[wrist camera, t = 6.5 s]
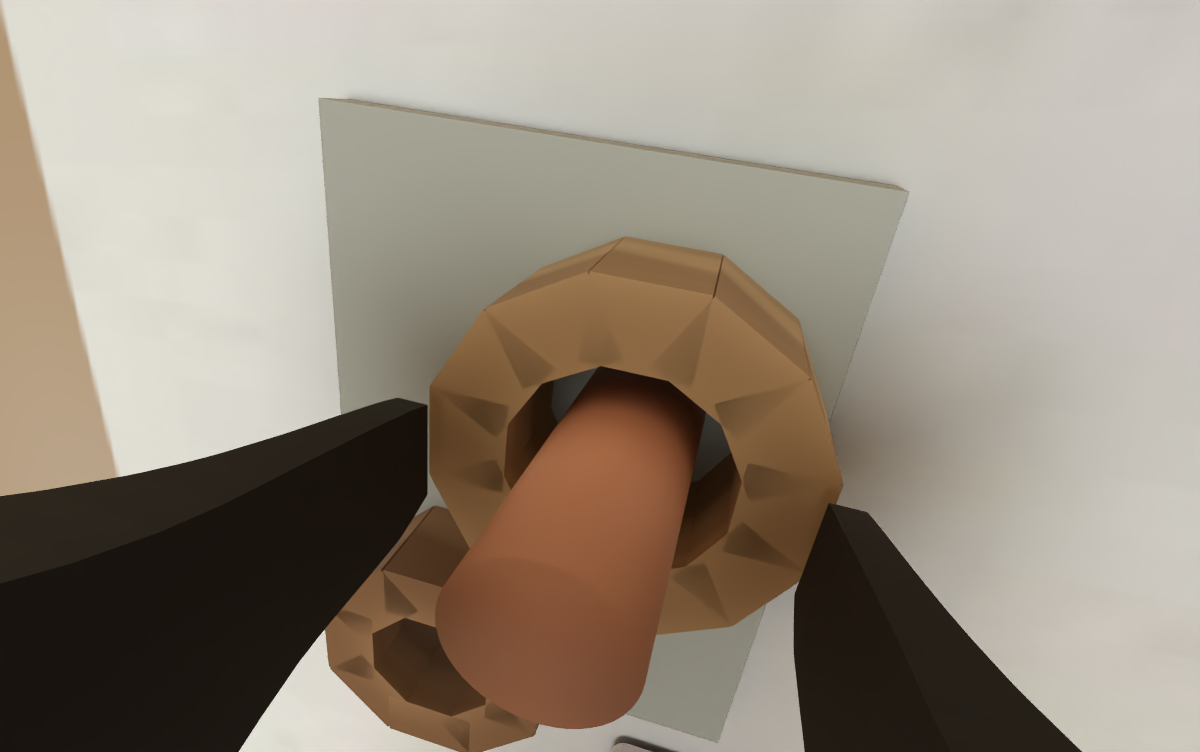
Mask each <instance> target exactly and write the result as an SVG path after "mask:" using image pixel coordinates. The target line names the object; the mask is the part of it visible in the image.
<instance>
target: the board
mask: <svg viewBox="0 0 1200 752" xmlns="http://www.w3.org/2000/svg"><path fill="white" fill-rule="evenodd" d="M318 99H319V113H320V127H321V141H322V155H323V169H324V182H325V196H326V210H327V224H328V238H329V252H330V265H331V279H332V293H333V307H334V321H335V335H336V348H337V362H338V376H339V390H340V404H341V415H342V414H345V413H348V412H351V411H354V410H357V409H360V408H363V407H366V406H369V405H372V404H375V403H379V402H382V401H386V400H390V399H394V398H402V399H406V400H410V401H414V402H418V403H422V404H426V405H428V495H427V496H426V498H425V500H424V501H423V503H422V505H421V506H420V508H419V510H418V511H417V513H416V515H415V516H417V515H419V514H420V513H422V512H424V511H425V510H427V509H429V508H431V507H432V506H434V507H435V506H439V507H443V508H447V506H446V504H445V502H444V500H443V498H442V497H441V495H440V493H439V491H438V489H437V488H436V486H435V484H434V482H433V480H432V478H431V477H430V474H429V387H430V385H431V383H432V382H433V380H434V379H435V377H436V376H437V375H438V373H439V372H440V370H441V369H442V367H443V366H444V365H445V363H446V362H447V360H448V359H449V357H450V356H451V355H452V353H453V352H454V350H455V349H456V347H457V346H458V345H459V343H460V342H461V340H462V339H463V338H464V336H465V335H466V333H467V332H468V330H469V329H470V328H471V326H472V325H473V323H474V322H475V320H476V319H477V318H478V316H479V315H480V313H481V312H482V310H483V309H485V308H486V307H487V306H489V305H490V304H491V303H493V302H494V301H496V300H497V299H498V298H500V297H501V296H503V295H504V294H505V293H507V292H508V291H510V290H511V289H512V288H514V287H515V286H516V285H518V284H519V283H521V282H522V281H523V280H525V279H526V278H528V277H529V276H530V275H532V274H533V273H534V272H536V271H537V270H539V269H540V268H542V267H545V266H547V265H550V264H553V263H555V262H558V261H561V260H563V259H566V258H569V257H571V256H574V255H577V254H579V253H582V252H585V251H587V250H590V249H593V248H595V247H598V246H601V245H603V244H606V243H609V242H611V241H614V240H617V239H619V238H622V237H632V238H637V239H643V240H648V241H654V242H659V243H664V244H670V245H675V246H681V247H686V248H692V249H697V250H702V251H708V252H713V253H719V254H723V255H722V257H723V256H724V255H725V256H726V257H727V258H728V259H730V260H731V261H732V262H733V263H734V264H735V265H736V266H738V267H739V268H740V269H741V270H742V271H743V272H745V273H746V274H747V275H748V276H749V277H750V278H752V279H753V280H754V281H755V282H756V283H757V284H758V285H760V286H761V287H762V288H763V289H764V290H765V291H767V292H768V293H769V294H770V295H771V296H772V297H774V298H775V299H776V300H777V301H778V302H779V303H780V304H782V305H783V306H784V307H785V308H786V309H787V310H789V311H790V312H791V313H792V314H793V315H794V316H796V317H797V318H798V320H799V321H800V325H801V328H802V332H803V335H804V338H805V342H806V345H807V348H808V352H809V355H810V359H811V362H812V365H813V369H814V372H815V375H816V379H817V382H818V385H819V389H820V392H821V396H822V399H823V402H824V406H825V410H826V414H827V419H828V423H829V421H830V419H831V416H832V413H833V410H834V407H835V404H836V401H837V398H838V396H839V393H840V390H841V387H842V384H843V381H844V378H845V375H846V373H847V370H848V367H849V364H850V361H851V358H852V355H853V352H854V350H855V347H856V344H857V341H858V338H859V335H860V332H861V329H862V327H863V324H864V321H865V318H866V315H867V312H868V309H869V307H870V304H871V301H872V298H873V295H874V292H875V289H876V286H877V284H878V281H879V278H880V275H881V272H882V269H883V266H884V263H885V261H886V258H887V255H888V252H889V249H890V246H891V243H892V240H893V238H894V235H895V232H896V229H897V226H898V223H899V220H900V217H901V215H902V212H903V209H904V206H905V203H906V200H907V197H908V194H909V192H908V191H906V190H904V189H902V188H900V187H898V186H894V185H888V184H881V183H875V182H869V181H862V180H856V179H850V178H843V177H837V176H831V175H824V174H818V173H812V172H805V171H799V170H793V169H786V168H780V167H774V166H768V165H761V164H755V163H749V162H742V161H736V160H730V159H723V158H717V157H711V156H704V155H698V154H692V153H685V152H679V151H673V150H666V149H660V148H654V147H647V146H641V145H635V144H628V143H622V142H616V141H609V140H603V139H597V138H590V137H584V136H578V135H571V134H565V133H559V132H553V131H546V130H540V129H534V128H527V127H521V126H515V125H508V124H502V123H496V122H489V121H483V120H477V119H470V118H464V117H458V116H451V115H445V114H439V113H432V112H426V111H420V110H413V109H407V108H401V107H394V106H388V105H382V104H375V103H369V102H363V101H357V100H350V99H331V98H318ZM597 368H598V367H596V368H593V369H590V370H586V371H583V372H579V373H576V374H573V375H569V376H566V377H562V378H559V379H556V380H554V385H553V395H552V404H551V409H552V411H553V413H554V416H555V418H556V420H557V422H558V423H559V422H560V420H561V419H562V417H563V416H564V414H565V413H566V412H567V410H568V409H569V407H570V406H571V405H572V403H573V402H574V400H575V399H576V397H577V396H578V395H579V393H580V392H581V390H582V389H583V388H584V386H585V385H586V383H587V382H588V380H589V379H590V378H591V376H592V375H593V373H594V372H595V371H596V369H597ZM730 453H731V450H730V447H729V444H728V442H727V439H726V436H725V433H724V431H723V428H722V425H721V424H720V423H719V422H717V421H716V420H715V419H714V418H713V417H711V416H710V415H709V414H708V413H707V412H706V415H705V421H704V425H703V430H702V434H701V439H700V443H699V448H698V452H697V456H696V461H695V465H694V470H693V474H692V478H691V482H696V481H699V480H700V479H701V478H702V477H704V476H705V475H706V474H707V473H708V472H709V471H710V470H712V469H713V468H714V467H715V466H716V465H717V464H718V463H720V462H721V461H722V460H723V459H724V458H725V457H727V456H728V455H729V454H730ZM447 509H448V508H447ZM415 516H414V517H415ZM765 605H766V604H765ZM765 605H763V606H762V607H760V608H759V609H757V610H756V611H754V612H753V613H752V614H750V615H749V616H747V617H746V618H744V619H743V620H741V621H740V622H738V623H737V624H735V625H734V626H731V627H726V628H717V629H707V630H698V631H689V632H680V633H671V634H662V635H656V638H655V642H654V646H653V651H652V655H651V660H650V664H649V669H648V673H647V677H646V682H645V685H644V689H643V692H642V694H641V696H640V698H639V699H638V701H637V703H636V704H635V705H634V706H633V707H632V708H631V710H629V711H628V712H627V713H626V714H628V715H631V716H634V717H637V718H640V719H644V720H647V721H650V722H653V723H656V724H659V725H662V726H666V727H669V728H672V729H675V730H678V731H681V732H685V733H688V734H691V735H694V736H697V737H700V738H704V739H707V740H710V741H713V742H716V743H718V740H719V737H720V735H721V732H722V729H723V726H724V723H725V720H726V717H727V714H728V712H729V709H730V706H731V703H732V700H733V697H734V694H735V691H736V689H737V686H738V683H739V680H740V677H741V674H742V671H743V668H744V666H745V663H746V660H747V657H748V654H749V651H750V648H751V646H752V643H753V640H754V637H755V634H756V631H757V628H758V625H759V623H760V620H761V617H762V614H763V611H764V608H765Z"/></svg>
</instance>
